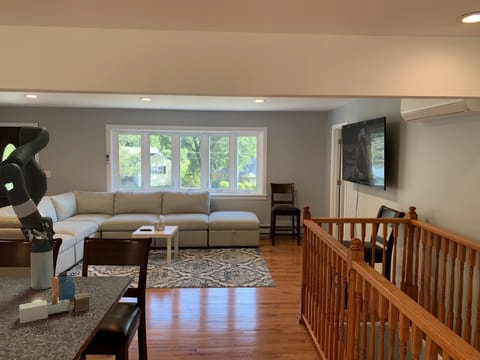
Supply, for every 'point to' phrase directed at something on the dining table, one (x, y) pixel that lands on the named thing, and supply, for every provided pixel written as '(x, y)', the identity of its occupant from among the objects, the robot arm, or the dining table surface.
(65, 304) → the grey bar with post
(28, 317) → the pale white block
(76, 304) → the socket block
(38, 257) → the robot arm
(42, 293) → the dining table surface
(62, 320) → the dining table surface
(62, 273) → the perfume bottle
